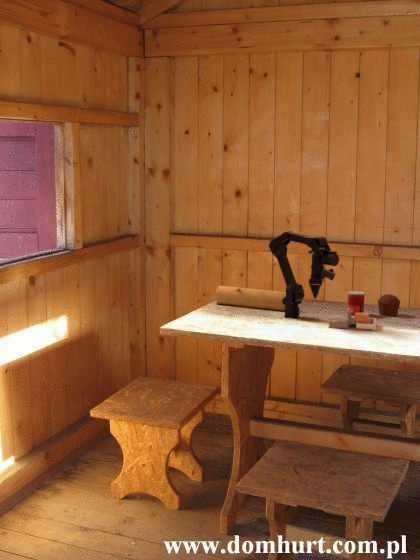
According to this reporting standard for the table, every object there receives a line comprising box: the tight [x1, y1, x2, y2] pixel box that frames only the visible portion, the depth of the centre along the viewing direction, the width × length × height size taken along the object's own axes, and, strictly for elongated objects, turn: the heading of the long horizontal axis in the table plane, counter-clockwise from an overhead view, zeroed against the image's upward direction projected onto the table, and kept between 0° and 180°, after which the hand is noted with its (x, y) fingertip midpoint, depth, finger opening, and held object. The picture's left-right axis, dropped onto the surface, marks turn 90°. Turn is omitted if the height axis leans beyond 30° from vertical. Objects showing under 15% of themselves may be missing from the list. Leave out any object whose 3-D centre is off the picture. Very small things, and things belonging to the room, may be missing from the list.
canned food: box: [346, 290, 365, 317], centre depth 398 cm, size 8×8×11 cm
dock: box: [328, 317, 377, 332], centre depth 369 cm, size 21×14×4 cm, turn 78°
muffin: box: [377, 293, 401, 317], centre depth 398 cm, size 12×11×10 cm
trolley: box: [347, 310, 371, 326], centre depth 368 cm, size 10×11×6 cm
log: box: [214, 285, 286, 312], centre depth 412 cm, size 38×10×10 cm, turn 64°
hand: (316, 296), depth 377 cm, fingers open, 9 cm apart
